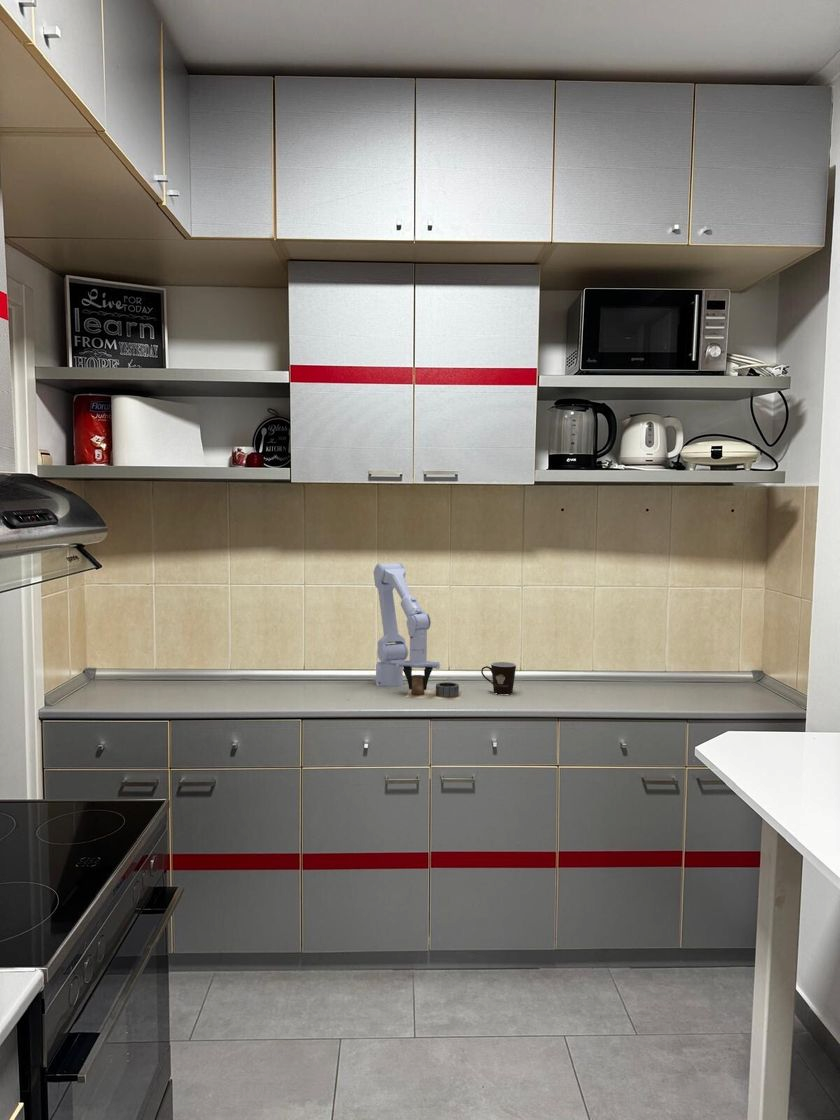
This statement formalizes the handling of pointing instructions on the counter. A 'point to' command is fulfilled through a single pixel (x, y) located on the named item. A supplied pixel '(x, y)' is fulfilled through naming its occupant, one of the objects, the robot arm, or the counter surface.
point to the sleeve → (447, 690)
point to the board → (430, 695)
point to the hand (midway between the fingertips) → (417, 689)
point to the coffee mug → (502, 677)
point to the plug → (417, 685)
